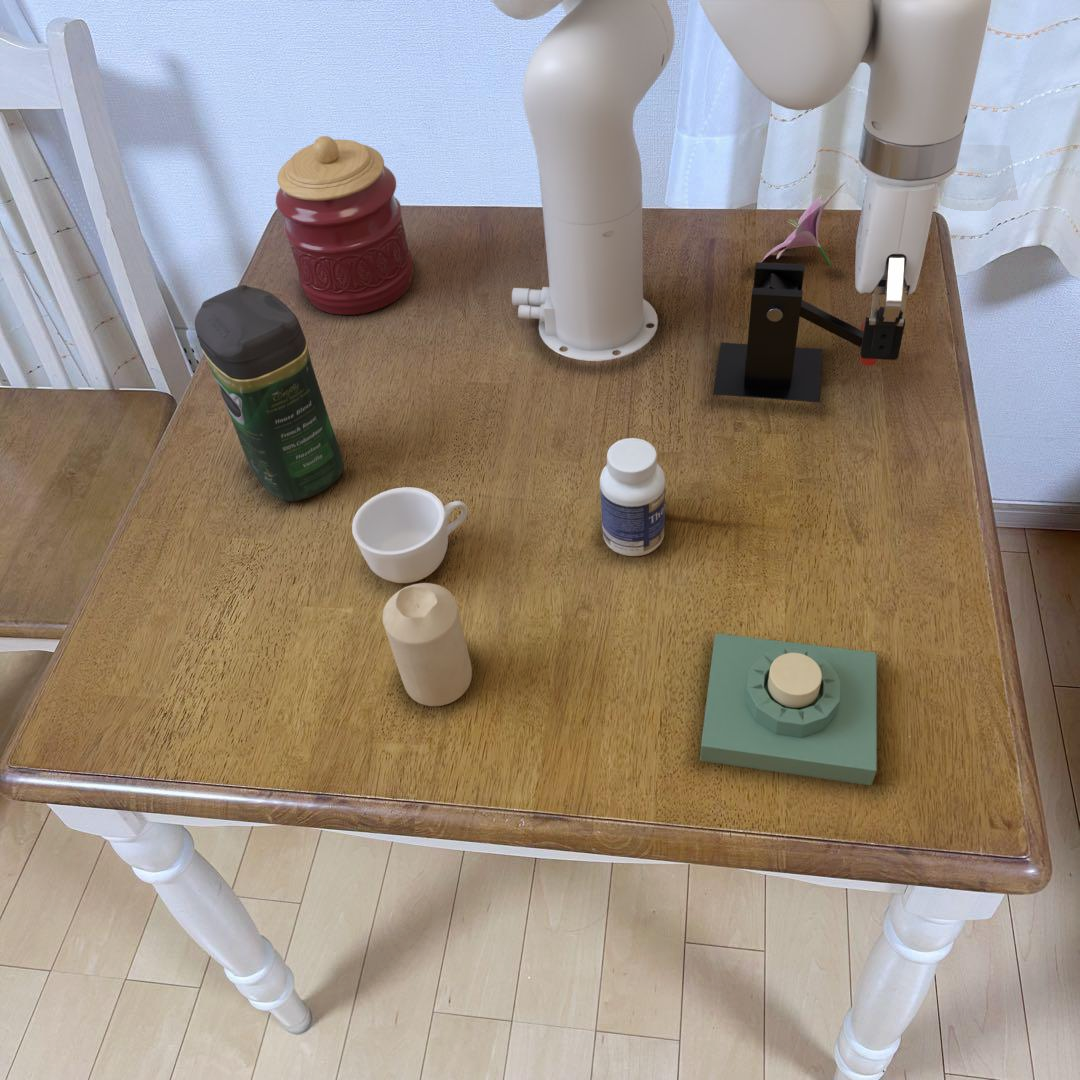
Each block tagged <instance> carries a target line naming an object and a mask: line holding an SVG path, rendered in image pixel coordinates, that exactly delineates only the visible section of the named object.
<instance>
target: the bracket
mask: <svg viewBox="0 0 1080 1080" xmlns="http://www.w3.org/2000/svg"><path fill="white" fill-rule="evenodd" d="M771 273H774V274H775V275H777V276H779V277H781V278H783V279H785V280H787V281H789V282H791V283H793V284H795V285H797V286H798V289H797V290H787V289H769V288H760V287H761V286H762V285H763V283H764V282H765V281H766V279H767V278H768V277H769V275H770V274H771ZM804 277H805V264H800V263H776V262H762V263H761V262H758V261H757V262H755V266H754V277H753V287H752V289H751V297H750V298H751V299H750V309H749V320H748V331H747V342H746V343H736V342H735V343H733V342H720V347H719V353H718V359H717V366H716V371H715V379H714V386H713V392H712V395H715V396H728V397H743V398H755V399H769V400H783V401H795V402H797V401H798V402H809V403H820V402H821V385H822V384H821V383H822V380H821V379H822V367H823V366H822V365H823V364H822V363H823V348H814V347H813V348H812V347H797V342H798V341H797V340H798V334H799V332H798V331H799V327H800V326H799V325H800V318H801V317H800V311H801V303H802V300H803V294H804V293H803V292H804V290H803V284H804Z"/></svg>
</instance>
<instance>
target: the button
mask: <svg viewBox="0 0 1080 1080" xmlns="http://www.w3.org/2000/svg"><path fill="white" fill-rule="evenodd" d="M821 681H822V673H821V669H820V667H819V666H818V664H817V663H816V662H815V661H814V660H813V659H812V658H810V657H808V656H806V655H804V654H800V653H786V654H783V655H781V656H779V657H778V658H776V659H775V660H774V661H773V663H772V664H771V667H770V672H769V679H768V689H769V692H770V694H771V696H772V697H773V698H774V699H775V700H776V701H777V702H778V703H780V704H782V705H784V706H787V707H791V708H801V707H805V706H808V705H810V704H811V703H812V702H814V701H815V699H816V698H817V696H818V694H819V689H820V685H821Z"/></svg>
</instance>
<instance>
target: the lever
mask: <svg viewBox="0 0 1080 1080" xmlns="http://www.w3.org/2000/svg"><path fill="white" fill-rule="evenodd" d="M760 288H769V289H787V290H797V289H798V286H797V285H795V284H793V283H791V282H789V281H787V280H785V279H783V278H781V277H779V276H777V275H775V274H774V273H771V274H770V275H769V277H768V278H767V279H766V281H765V282H764V283H763V285H762V286H761V287H760ZM800 318H802V319H804V320H806V321H808V322H810V323H812V324H814V325H816V326H817V327H819V328H821V329H823V330H825V331H827V332H829V333H831V334H833V335H835V336H837V337H839V338H841V339H843V340H844V341H847V342H849V343H850V344H853V345H855V346H856V347H858V348H860V349H861V345H862V339H863V333H864V327H865V321H864V322H862V324H861V326H860V328H858V327H856V326H854V325H851V324H850V323H848V322H846V321H844V320H842V319H840V318H838V317H836V316H835V315H832V314H830V313H829V312H826V311H825V310H823V309H821V308H819V307H816V306H815V305H813V304H812V303H809V302H808V301H805V300H803V299H802V303H801V311H800ZM877 361H878V359H866V358H862V357H861V356H860V363H861V364H862V365H863V366H865V367H871V366H873V365H875V364H876V363H877Z"/></svg>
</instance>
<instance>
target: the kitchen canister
mask: <svg viewBox="0 0 1080 1080" xmlns="http://www.w3.org/2000/svg"><path fill="white" fill-rule="evenodd" d="M276 180H277V184H278V187H279V189H278V191H277V193H276V195H275V206H276V208H277V210H278V212H279V213H280V214H281V215H282V216H283V217H284V218H285V221H284V225H283V230H284V234H285V237H286V239H287V240H288V242H289V246H290V248H291V252H292V255H293V256H292V257H293V258H294V262H295V266H296V269H297V271H298V275H297V276H298V281H299V284H300V287H301V289H302V291H303V293H304V294H305V295H306V298H307V300H308V301H309V303H311V304H312V306H313V307H314V308H317V309H318V310H320V311H322V312H325V313H330V314H335V315H342V316H343V315H346V316H347V315H348V316H350V315H361V314H366V313H371V312H374V311H377V310H379V309H380V310H381V309H382V308H384V307H386V306H388V305H391V304H392V303H394V302H395V301H397V300H398V299H400V298H401V297H402V296H404V294H405V293H406V292H407V291H408V290H409V288H410V286H411V285H412V282H413V278H414V277H413V276H414V275H413V271H414V261H413V258H412V257H413V256H412V253H411V250H410V249H409V246H408V240H407V236H406V230H405V226H404V221H403V216H402V214H403V209H402V205H401V203H400V201H399V199H398V198H397V197H396V196H395V195H394V194H395V192H396V189H397V179H396V176H395V174H394V172H392V171H391V169H389V168H388V167H387V166H386V165H385V160H384V157H383V156H382V154H381V153H380V152H379V151H378V150H377V149H376V148H374V147H371V146H369V145H366V144H362V143H360V142H358V141H354V140H350V139H333V138H332V137H330V136H328V135H322V136H319V137H317V138H316V139H315V140H314V142H313V143H312V144H309V145H308V146H305V147H303V148H301V149H300V150H298V151H296V152H295V153H294V154H293V155H292V156H291V157H290V159H288V160H287V161H286V162H285V163H284V164H283V165H282V166H281V168H280V169H279V171H278V173H277V179H276Z"/></svg>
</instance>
